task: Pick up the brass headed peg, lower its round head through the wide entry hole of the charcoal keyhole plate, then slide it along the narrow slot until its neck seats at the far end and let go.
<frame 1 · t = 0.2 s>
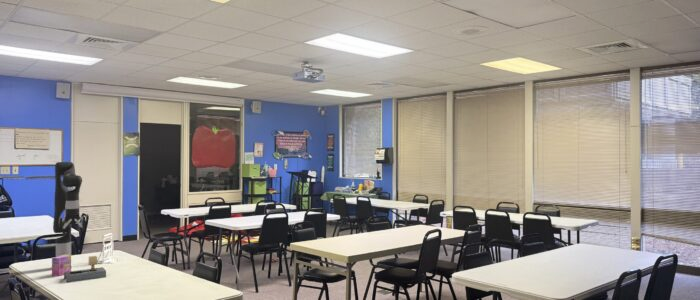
hand: (72, 233, 302), 29 cm above the table, tool pointing down, fingers open, 8 cm apart
box: (61, 274, 317), on the table
keyhole plate: (85, 277, 307), on the table
brass peg: (92, 272, 320), on the table
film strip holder: (109, 261, 355), on the table
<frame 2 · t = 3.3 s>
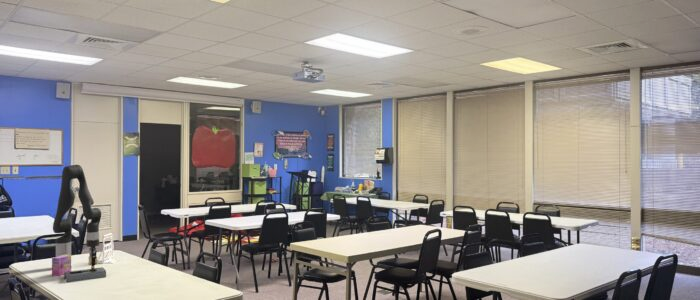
hand: (92, 264, 320), 5 cm above the table, tool pointing down, fingers closed on brass peg, 4 cm apart
brass peg: (92, 272, 320), on the table, touching gripper
everything else where it was.
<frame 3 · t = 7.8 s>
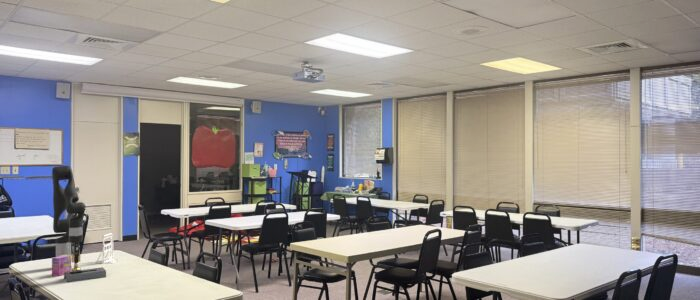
hand: (75, 261, 304), 11 cm above the table, tool pointing down, fingers closed on brass peg, 4 cm apart
brass peg: (75, 270, 304), point 5 cm above the table, touching gripper
everything else where it was.
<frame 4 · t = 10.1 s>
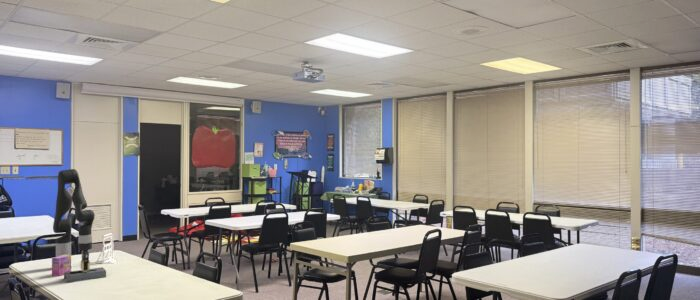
hand: (85, 268, 307), 6 cm above the table, tool pointing down, fingers closed on brass peg, 4 cm apart
brass peg: (85, 277, 307), on the table, touching gripper
everything else where it was.
when the fingers open (6 cm above the table, at t = 12.3 s): brass peg stays where it is, on the table.
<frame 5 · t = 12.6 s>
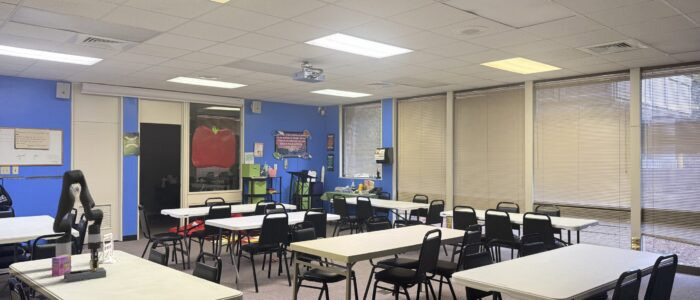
hand: (94, 267, 310), 6 cm above the table, tool pointing down, fingers open, 6 cm apart
brass peg: (94, 276, 310), on the table
everything else where it was.
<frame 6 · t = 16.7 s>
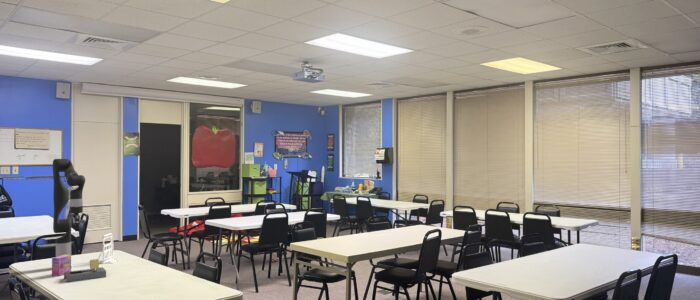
hand: (76, 230, 319), 28 cm above the table, tool pointing down, fingers open, 8 cm apart
nothing on the table moved.
at the end: brass peg 0.1 cm from the target spot, on the table; brass peg tilted 0°; the gripper is holding nothing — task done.
